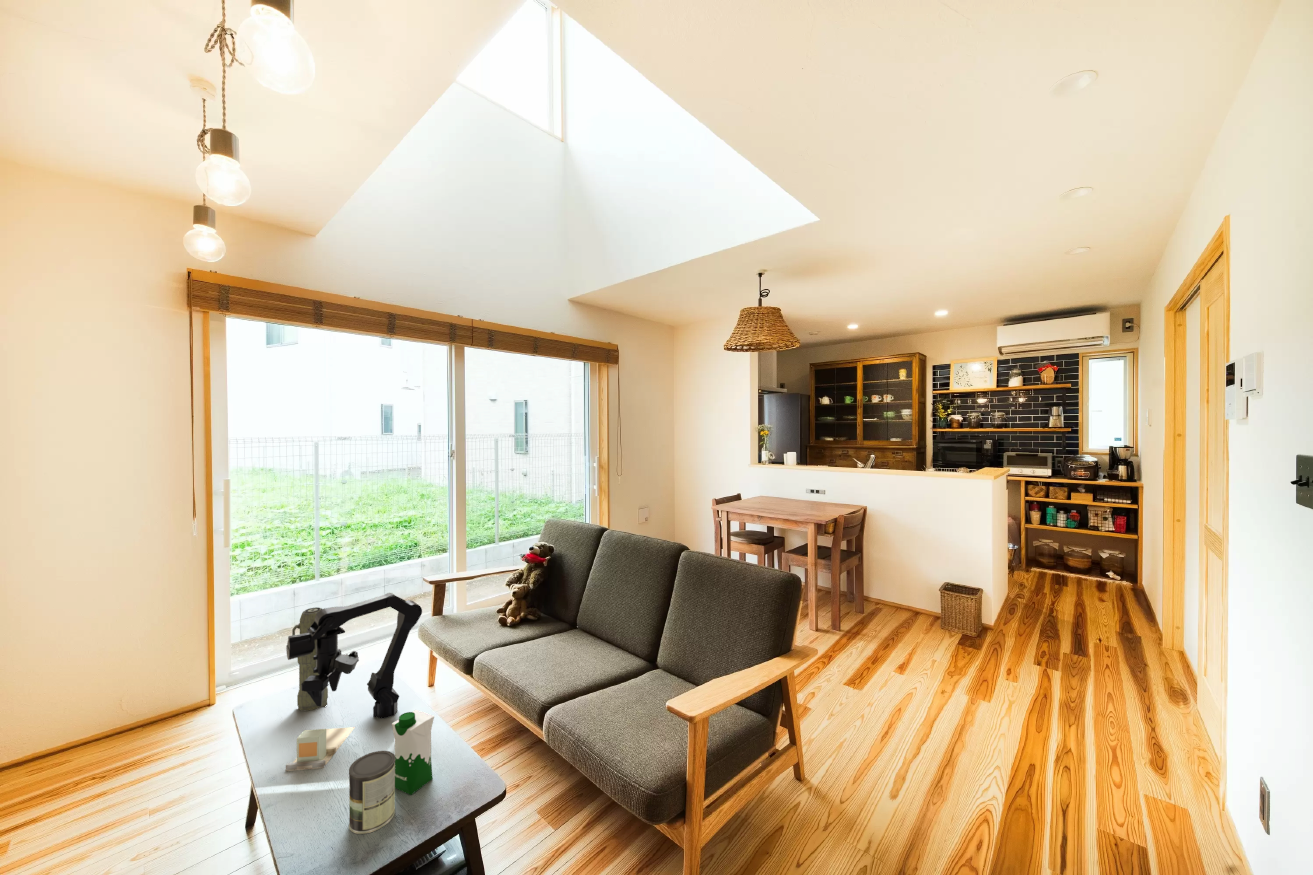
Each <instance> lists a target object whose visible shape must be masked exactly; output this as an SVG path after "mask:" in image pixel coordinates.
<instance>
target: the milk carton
mask: <svg viewBox="0 0 1313 875" xmlns="http://www.w3.org/2000/svg"><path fill="white" fill-rule="evenodd" d="M434 719H435V715H433V714H429V713H427V712H425V711H420V710H417V709H415V710H413V711H407V712H404V713H402V714H401V715H399V717H398V719H397V720H395V721H394V722H392V723H391V728H392V733H393V738H394V755H395V790H399V791H401V792H403V793H404V794H405V793H406V794H408V795H409V796H413V795H414V794H415V793H416V792H418V790H420V789H421V788H423V787H424V786H426V785H427V784H428V783H429V782H430V781H432V780H433V766H432V765H433V764H432V727H433V724H434Z"/></svg>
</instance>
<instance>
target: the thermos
mask: <svg viewBox="0 0 1313 875" xmlns="http://www.w3.org/2000/svg"><path fill="white" fill-rule="evenodd" d="M322 609H323V608H322V607H310V608H307V609H305V610H303V611H302V613H301V614H300V618H299V623H298V624H295V625H294V626H293V628H292V630H291V631H292V632H291V634H292V635H296V630H297V629H299V634H304V633H308V631H307V630H308V629H309V627H310V626H311V625H312V623H313V622H314V621H315V617H316V614H317V613H318V612H319V611H320V610H322ZM292 635H291V636H292ZM315 655H316V640H315V650H313V653H311V654H310V655H306V656H302V657H298V658H297V663H298V670H299V671H298V673H299V674H298V675H299V677H298V683H299V684H298V685H299V686H298V693H297V695H296V696H297V699H296V700H297V701H296V702H297V703H296V704H297V709H298V710H299V711H302V712H303V711H306V712H307V711H311V710H316V709H319V708H322V709H324V708H326V707H327V706H328V698H329V688H328V686H327V687H326V688H325V689H324V694H323V701H322V706H320V707H318V706H317V705H316V704H315V702H314V701H313V699H312V698H311V697H310V695H309V694H308V693H307V692H304V691H301V684H302V683H303V682H304V681H305V680H306V679H307V678H308V677H309V676H313V675H319V674H318V673H313V670H314V669H315V668H316V660H313V657H314V656H315ZM326 705H327V706H326ZM325 706H326V707H325Z"/></svg>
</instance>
